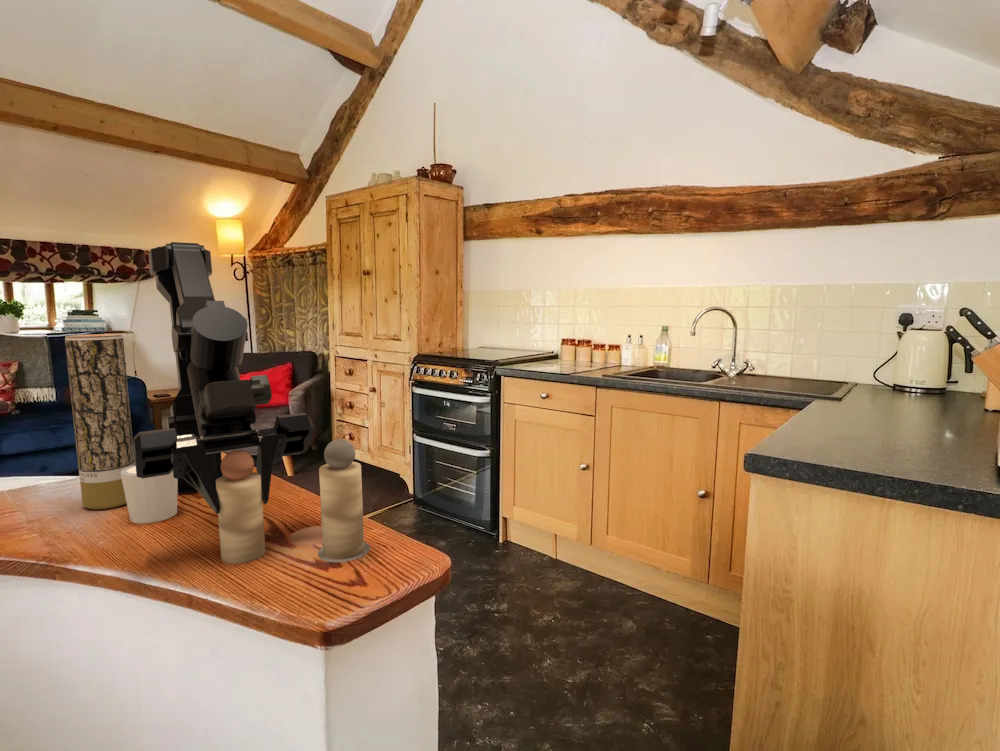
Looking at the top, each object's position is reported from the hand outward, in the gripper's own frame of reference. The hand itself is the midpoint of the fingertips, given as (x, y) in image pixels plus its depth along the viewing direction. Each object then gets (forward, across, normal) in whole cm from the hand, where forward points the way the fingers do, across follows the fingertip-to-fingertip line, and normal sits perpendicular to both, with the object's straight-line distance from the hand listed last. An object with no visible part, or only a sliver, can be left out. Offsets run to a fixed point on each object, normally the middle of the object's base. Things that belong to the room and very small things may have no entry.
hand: (242, 506), depth 62 cm
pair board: (+6, +9, +4) cm, 11 cm away
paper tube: (-19, -12, +29) cm, 37 cm away
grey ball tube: (+7, +10, +1) cm, 12 cm away
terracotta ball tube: (+4, 0, +6) cm, 7 cm away
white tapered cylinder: (-12, -7, +22) cm, 26 cm away
